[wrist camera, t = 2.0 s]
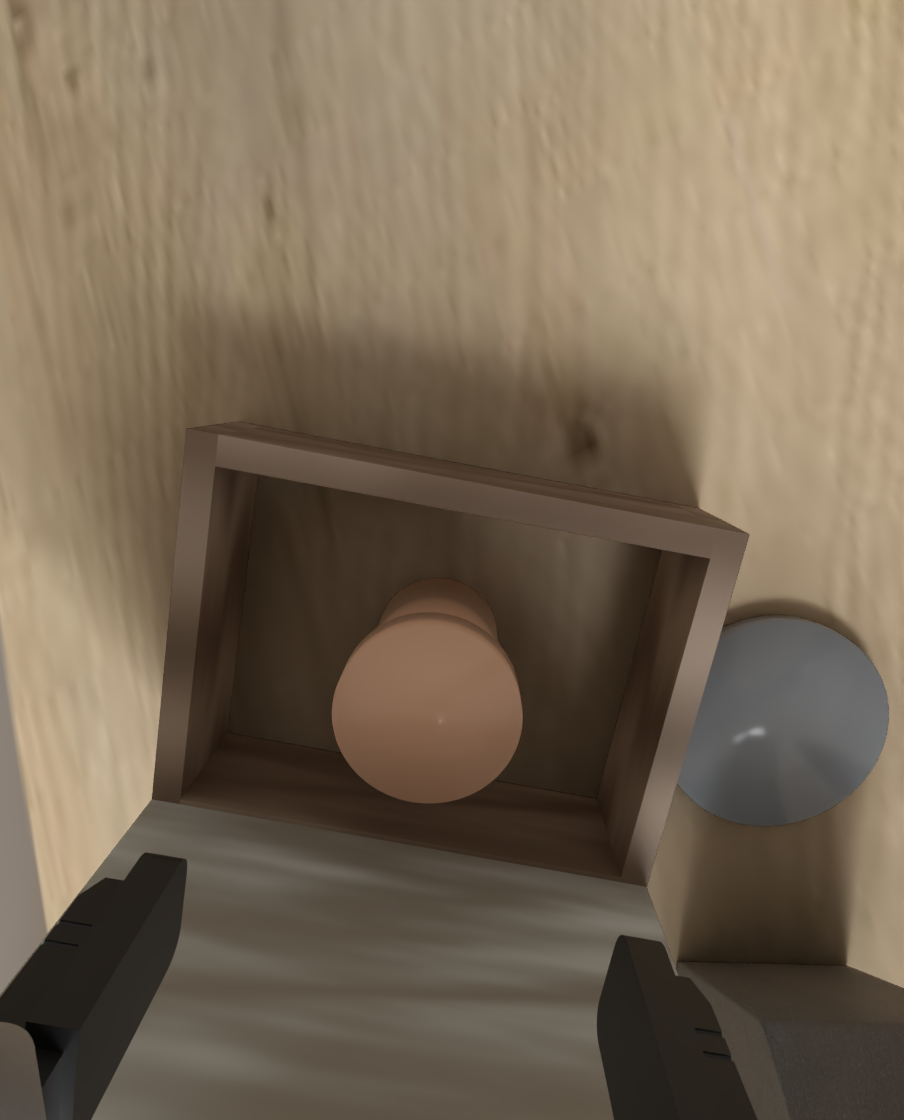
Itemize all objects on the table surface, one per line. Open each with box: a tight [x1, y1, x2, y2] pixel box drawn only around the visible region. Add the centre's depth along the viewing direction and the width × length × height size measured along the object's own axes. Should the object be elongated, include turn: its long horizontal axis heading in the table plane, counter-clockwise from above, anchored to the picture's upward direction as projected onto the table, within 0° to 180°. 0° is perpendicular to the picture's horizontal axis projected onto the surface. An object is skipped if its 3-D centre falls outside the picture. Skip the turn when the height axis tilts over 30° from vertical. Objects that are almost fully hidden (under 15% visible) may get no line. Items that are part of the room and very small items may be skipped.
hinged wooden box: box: [0, 422, 750, 1120], centre depth 20 cm, size 14×18×19 cm
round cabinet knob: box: [332, 578, 523, 803], centre depth 25 cm, size 6×6×8 cm
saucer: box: [677, 615, 889, 826], centre depth 29 cm, size 9×9×1 cm
